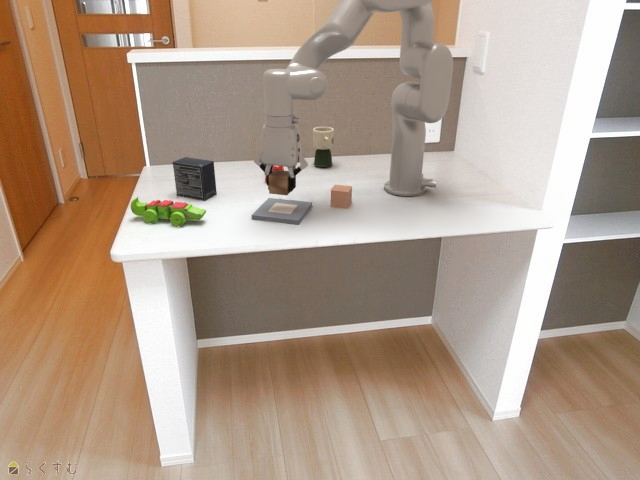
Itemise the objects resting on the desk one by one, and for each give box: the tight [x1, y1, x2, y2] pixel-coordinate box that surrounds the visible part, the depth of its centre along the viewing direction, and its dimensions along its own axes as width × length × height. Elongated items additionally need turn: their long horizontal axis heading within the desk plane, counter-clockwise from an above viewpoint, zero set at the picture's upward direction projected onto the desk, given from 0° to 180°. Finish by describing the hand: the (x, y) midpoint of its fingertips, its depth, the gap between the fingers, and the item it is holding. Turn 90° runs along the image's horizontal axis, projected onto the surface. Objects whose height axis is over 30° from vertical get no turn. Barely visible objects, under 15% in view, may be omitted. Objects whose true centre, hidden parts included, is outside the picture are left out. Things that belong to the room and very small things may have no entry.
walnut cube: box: [268, 170, 291, 196], centre depth 132 cm, size 5×5×5 cm
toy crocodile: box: [130, 196, 207, 227], centre depth 130 cm, size 20×7×6 cm, turn 78°
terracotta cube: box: [330, 184, 353, 210], centre depth 140 cm, size 5×5×5 cm
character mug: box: [312, 126, 335, 168], centre depth 170 cm, size 11×7×13 cm, turn 14°
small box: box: [172, 156, 218, 202], centre depth 146 cm, size 11×6×10 cm, turn 65°
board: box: [251, 197, 313, 225], centre depth 136 cm, size 13×13×1 cm
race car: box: [264, 165, 285, 184], centre depth 161 cm, size 13×5×4 cm, turn 177°
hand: (281, 188), depth 133 cm, fingers closed on walnut cube, 4 cm apart
